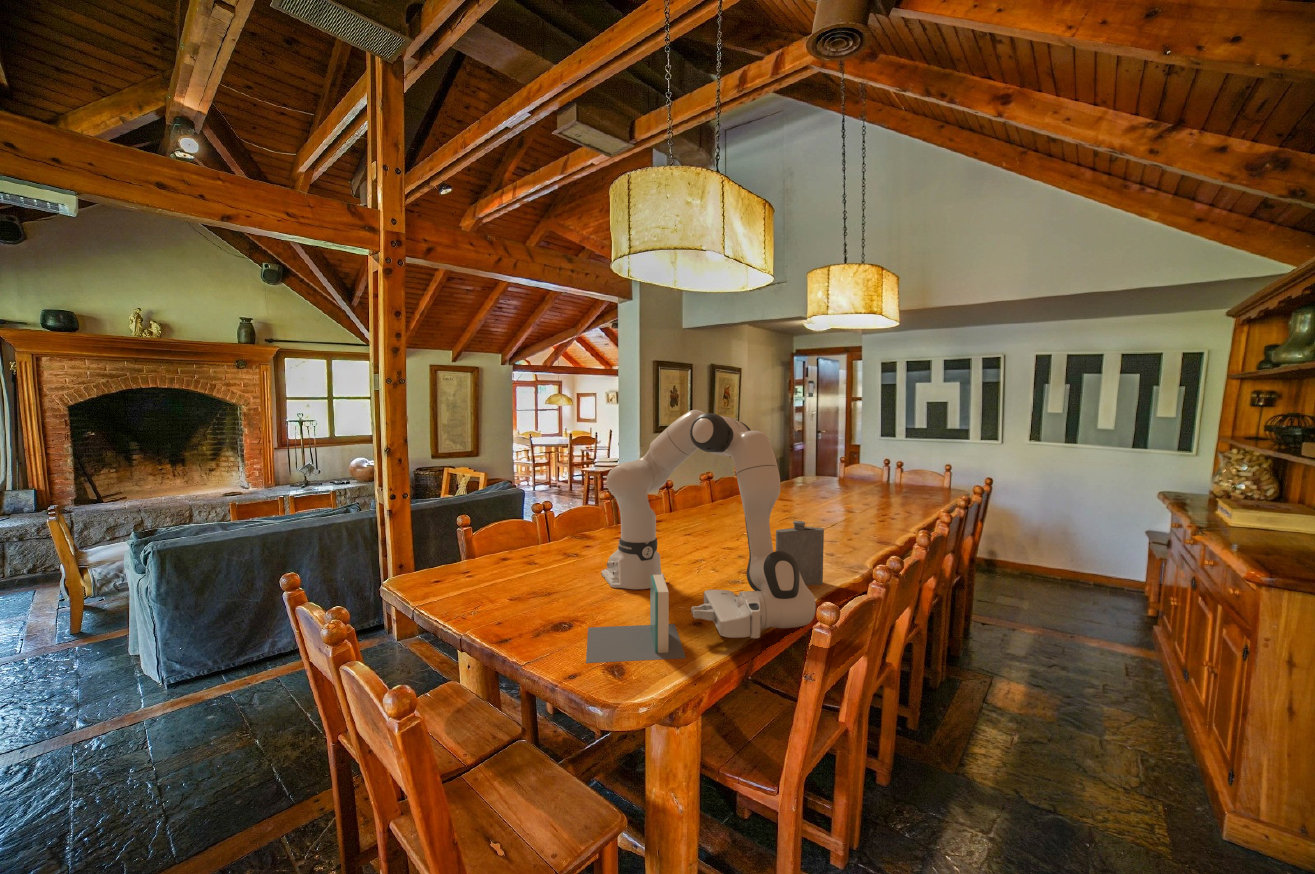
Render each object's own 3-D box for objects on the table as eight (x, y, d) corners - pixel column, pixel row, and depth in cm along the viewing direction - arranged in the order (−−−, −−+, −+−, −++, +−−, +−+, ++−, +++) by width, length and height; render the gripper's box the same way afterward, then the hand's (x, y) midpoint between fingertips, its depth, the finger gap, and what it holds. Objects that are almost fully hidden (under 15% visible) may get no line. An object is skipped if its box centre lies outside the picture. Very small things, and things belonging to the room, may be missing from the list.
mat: (674, 625, 132) (674, 623, 132) (685, 659, 114) (686, 658, 114) (588, 629, 130) (588, 627, 130) (585, 664, 112) (585, 663, 112)
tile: (662, 629, 129) (662, 574, 128) (668, 652, 117) (668, 591, 116) (650, 630, 128) (650, 574, 127) (655, 653, 116) (655, 592, 116)
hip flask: (777, 587, 160) (778, 524, 158) (772, 583, 164) (773, 521, 162) (824, 584, 163) (826, 521, 162) (818, 580, 167) (819, 519, 166)
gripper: (737, 582, 135) (685, 584, 133) (761, 614, 114) (700, 616, 113) (737, 606, 135) (685, 608, 134) (761, 642, 115) (700, 644, 113)
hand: (692, 612), depth 123 cm, fingers closed
